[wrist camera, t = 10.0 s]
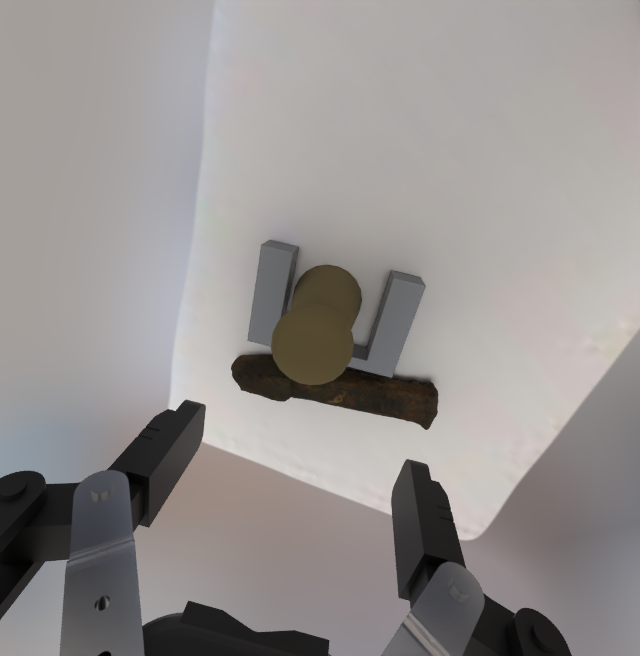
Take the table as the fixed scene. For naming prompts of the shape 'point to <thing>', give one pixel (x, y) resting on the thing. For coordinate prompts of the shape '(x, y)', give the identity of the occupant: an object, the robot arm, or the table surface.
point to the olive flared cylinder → (318, 326)
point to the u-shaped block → (375, 358)
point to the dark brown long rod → (341, 390)
